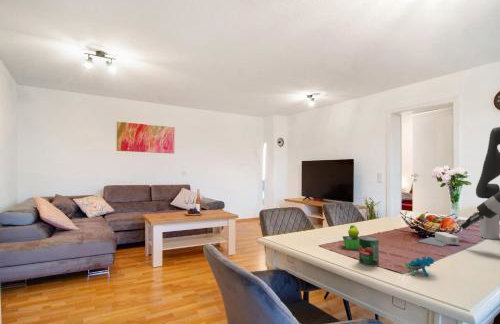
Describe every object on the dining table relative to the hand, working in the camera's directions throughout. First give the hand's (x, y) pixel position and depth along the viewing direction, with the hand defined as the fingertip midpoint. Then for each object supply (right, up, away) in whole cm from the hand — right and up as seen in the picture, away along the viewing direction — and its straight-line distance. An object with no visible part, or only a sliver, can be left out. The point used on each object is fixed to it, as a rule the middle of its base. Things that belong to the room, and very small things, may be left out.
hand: (462, 227), depth 145 cm
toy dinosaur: (-46, -10, -37) cm, 60 cm away
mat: (-7, -11, +11) cm, 17 cm away
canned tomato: (-61, -10, -26) cm, 67 cm away
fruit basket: (-58, -10, -2) cm, 59 cm away
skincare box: (-2, -8, +4) cm, 9 cm away
